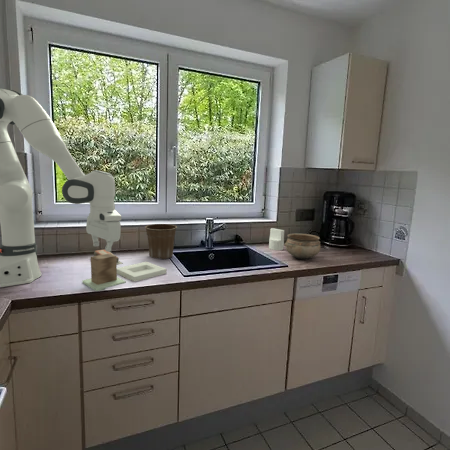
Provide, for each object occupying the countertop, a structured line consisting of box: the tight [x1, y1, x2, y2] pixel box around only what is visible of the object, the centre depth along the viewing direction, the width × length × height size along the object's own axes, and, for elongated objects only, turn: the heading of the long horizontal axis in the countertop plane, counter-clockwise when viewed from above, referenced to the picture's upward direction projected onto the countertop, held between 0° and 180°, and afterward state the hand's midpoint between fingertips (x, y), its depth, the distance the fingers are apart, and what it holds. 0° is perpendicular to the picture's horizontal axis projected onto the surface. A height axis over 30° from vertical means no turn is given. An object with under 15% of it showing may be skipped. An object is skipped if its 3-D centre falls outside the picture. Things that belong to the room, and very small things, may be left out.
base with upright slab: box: [268, 227, 285, 251], centre depth 195 cm, size 9×9×12 cm
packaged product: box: [90, 249, 124, 266], centre depth 154 cm, size 18×5×10 cm
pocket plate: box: [117, 261, 167, 282], centre depth 138 cm, size 16×15×2 cm
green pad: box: [81, 276, 127, 292], centre depth 125 cm, size 12×12×1 cm
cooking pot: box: [284, 232, 321, 261], centre depth 174 cm, size 25×19×12 cm
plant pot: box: [144, 223, 178, 260], centre depth 166 cm, size 16×16×16 cm
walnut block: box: [90, 253, 118, 285], centre depth 125 cm, size 8×5×10 cm, turn 138°
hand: (102, 248), depth 123 cm, fingers open, 8 cm apart
